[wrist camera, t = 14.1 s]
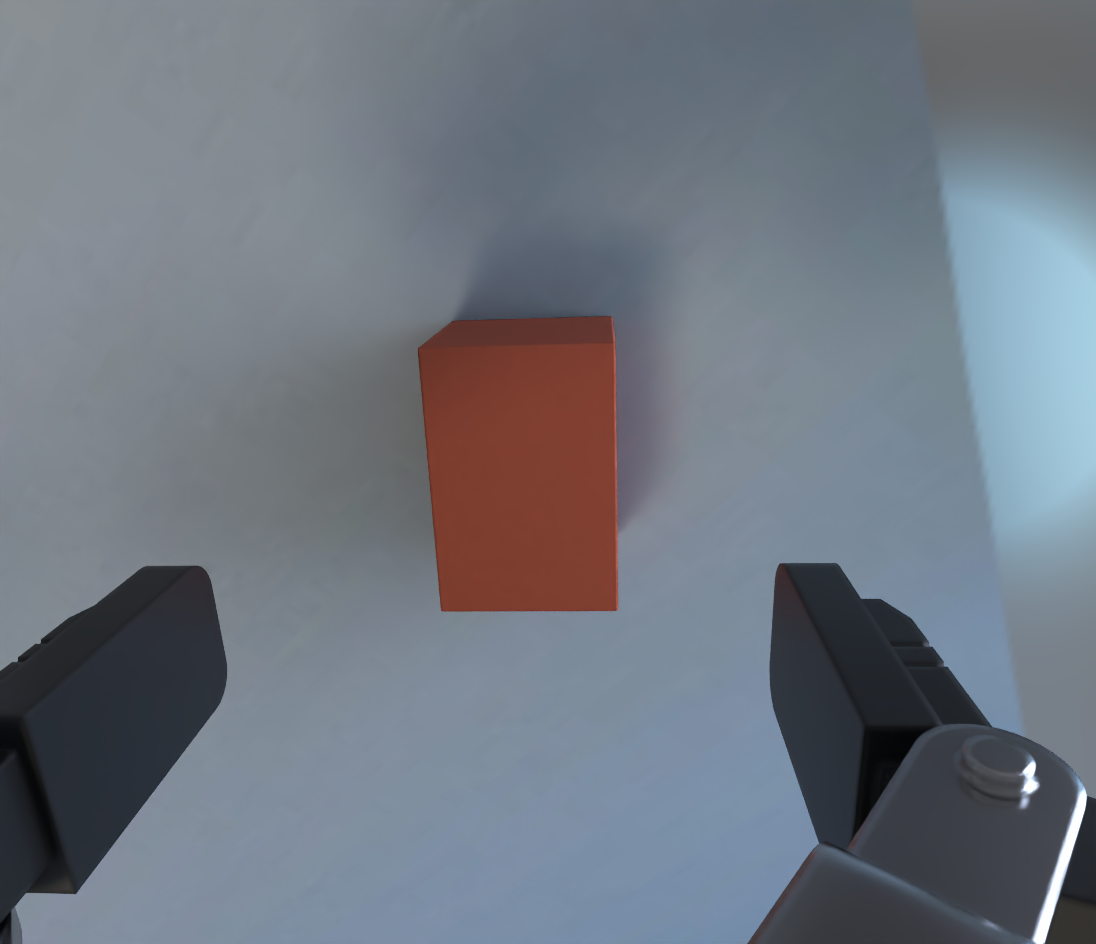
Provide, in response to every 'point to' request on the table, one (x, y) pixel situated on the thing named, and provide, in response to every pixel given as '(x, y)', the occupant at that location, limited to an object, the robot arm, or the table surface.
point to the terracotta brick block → (523, 463)
